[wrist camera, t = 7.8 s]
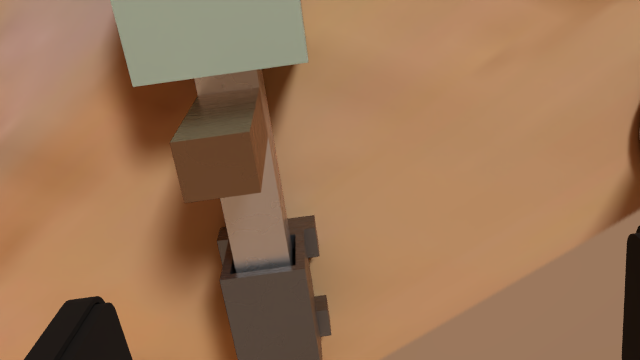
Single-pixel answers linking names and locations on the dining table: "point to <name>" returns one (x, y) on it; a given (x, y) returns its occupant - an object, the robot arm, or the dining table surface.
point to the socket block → (207, 37)
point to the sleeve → (276, 302)
